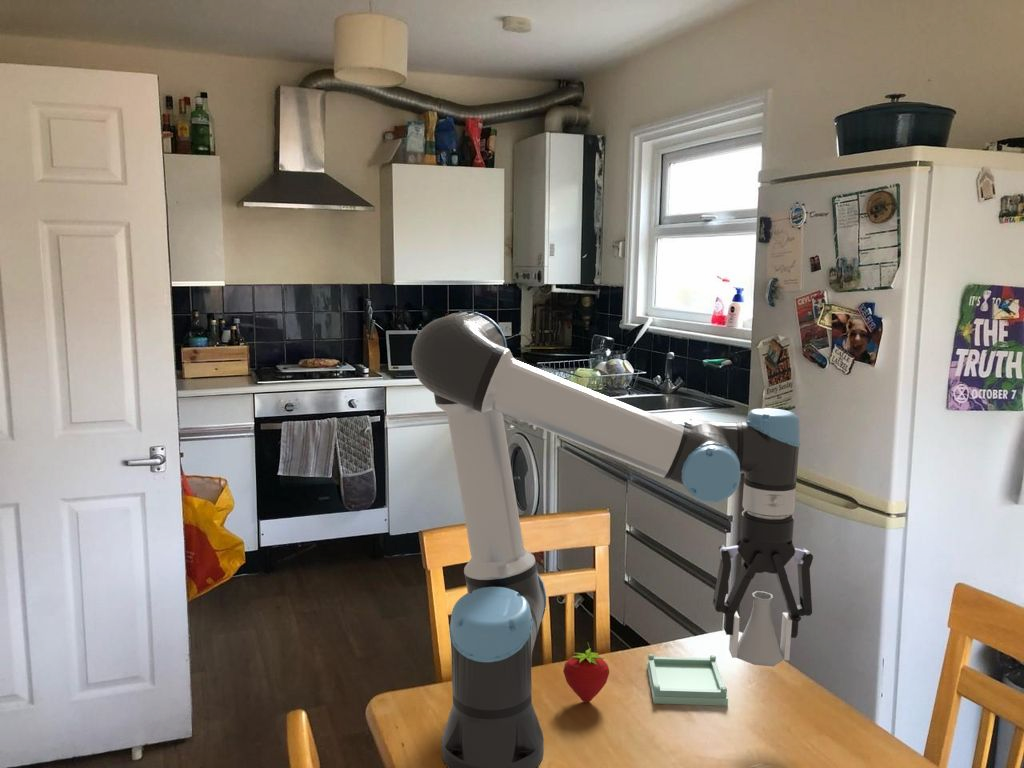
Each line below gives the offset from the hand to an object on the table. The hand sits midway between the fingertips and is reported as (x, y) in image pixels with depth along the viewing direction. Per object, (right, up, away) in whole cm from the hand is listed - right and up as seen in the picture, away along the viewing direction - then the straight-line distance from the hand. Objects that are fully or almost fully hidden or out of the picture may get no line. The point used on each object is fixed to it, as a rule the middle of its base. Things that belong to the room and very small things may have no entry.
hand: (758, 654), depth 128 cm
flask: (0, -1, 0) cm, 0 cm away
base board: (-9, -10, +13) cm, 18 cm away
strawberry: (-26, -11, +9) cm, 29 cm away
